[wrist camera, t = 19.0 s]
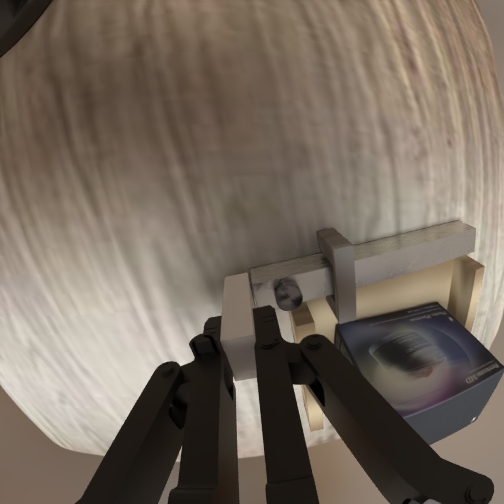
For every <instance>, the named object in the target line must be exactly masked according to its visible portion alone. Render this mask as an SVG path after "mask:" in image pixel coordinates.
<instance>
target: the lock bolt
mask: <svg viewBox="0 0 504 504" xmlns="http://www.w3.org/2000/svg"><path fill="white" fill-rule="evenodd" d="M475 236H476V228H474V227H472V226H470V225H468V224H465V223H463V222H461V221H459V220H457V221H453V222H449V223H445V224H441V225H437V226H433V227H429V228H425V229H421V230H417V231H413V232H408V233H404V234H400V235H396V236H392V237H388V238H383V239H379V240H375V241H371V242H366V243H362V244H358V245H353V250H354V264H355V282H356V288H359V287H363V286H367V285H370V284H374V283H377V282H381V281H384V280H388V279H391V278H395V277H398V276H401V275H405V274H408V273H411V272H415V271H418V270H421V269H424V268H427V267H430V266H434V265H437V264H440V263H443V262H446V261H449V260H452V259H455V258H457V257H460V256H463V255H466V254H469V253H472V252H474V248H475ZM250 272H251V280H252V287H253V291H254V295H255V299H256V303H257V308H258V307H263V306H267V305H271V306H272V307H273V308H278V307H279V308H280V309H282V310H284V311H292V310H295V309H296V308H298V307H299V306H300V305H301V303H302V302H304V301H308V300H312V299H316V298H320V297H325V296H329V295H333V294H335V288H334V277H333V266H332V264H331V262H330V261H329V260H328V259H327V257H326V256H325V255H324V254H323V253H319V254H314V255H310V256H305V257H301V258H296V259H292V260H287V261H283V262H278V263H274V264H269V265H264V266H260V267H255V268H250Z"/></svg>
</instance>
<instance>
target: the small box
mask: <svg viewBox="0 0 504 504" xmlns="http://www.w3.org/2000/svg"><path fill="white" fill-rule="evenodd" d="M334 345H335V346H336V348H337V349H338V350H339V351H340V352H341V353H342V354H343V355H344V356H345V357H346V358H347V359H348V360H349V361H350V362H351V363H352V365H353V366H354V367H355V368H356V369H357V370H358V371H359V372H360V373H361V374H362V375H363V376H364V377H365V378H366V379H367V380H368V381H369V383H370V384H371V385H372V386H373V387H374V388H375V389H376V390H377V391H378V392H379V393H380V394H381V395H382V396H383V397H384V398H385V399H386V401H387V402H388V403H389V404H390V405H391V406H392V407H393V408H394V409H395V410H396V411H397V412H398V413H399V414H400V415H401V416H402V417H403V419H404V420H405V421H406V422H407V423H408V424H409V425H410V426H411V427H412V428H413V429H414V430H415V431H416V432H417V433H418V434H419V435H420V436H421V437H422V439H423V440H424V441H425V442H426V443H427V444H428V445H431V444H433V443H435V442H437V441H439V440H441V439H443V438H445V437H447V436H449V435H451V434H453V433H455V432H457V431H459V430H461V429H462V428H464V427H466V426H467V425H469V424H471V423H473V422H474V421H476V420H477V418H478V416H479V415H480V413H481V412H482V410H483V408H484V407H485V405H486V404H487V402H488V400H489V399H490V397H491V395H492V393H493V392H494V389H495V388H496V386H497V384H498V383H499V381H500V379H501V377H502V375H503V373H504V366H503V365H502V364H501V363H500V362H499V361H498V360H497V359H496V358H495V357H494V356H493V355H492V354H491V353H490V352H489V351H488V350H487V349H486V348H485V347H484V346H483V344H481V343H480V342H479V341H478V340H477V339H476V338H475V337H474V336H473V335H472V334H471V333H470V332H469V331H468V330H467V329H466V328H465V327H464V326H463V325H462V324H461V323H460V322H459V321H458V320H457V319H455V318H454V317H453V316H452V315H451V314H450V313H449V312H448V311H447V310H446V309H445V308H444V307H443V306H441V305H440V304H439V303H438V302H434V303H430V304H426V305H423V306H419V307H414V308H411V309H406V310H402V311H398V312H393V313H389V314H384V315H379V316H374V317H370V318H365V319H359V320H354V321H349V322H346V323H342V324H339V323H337V324H336V326H335V337H334Z"/></svg>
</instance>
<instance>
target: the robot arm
mask: <svg viewBox="0 0 504 504" xmlns="http://www.w3.org/2000/svg"><path fill="white" fill-rule="evenodd" d="M50 1H51V0H0V56H1V55H3V54H4V53H5V52H6V51H7V50H8V49H10V48H11V47H12V46H13V45H14V44H15V43H16V42H17V41H18V40H19V39H20V38H21V37H22V35H23V34H24V33H25V32H26V31H27V30H28V29H29V28H30V27H31V25H32V24H33V23H34V22H35V21H36V19H37V18H38V17H39V16H40V15H41V13H42V12H43V11H44V9H45V8H46V7H47V5H48V4H49V3H50ZM189 345H190V348H191V350H192V352H193V354H194V357H195V358H194V361H192V362H190V363H188V364H186V365H183V366H180V365H179V364H178V363H177V362H173V361H171V362H166V363H163V364H161V365H160V366H158V367H157V369H156V370H155V372H154V373H153V375H152V376H151V378H150V380H149V381H148V383H147V385H146V386H145V388H144V390H143V392H142V393H141V395H140V397H139V398H138V400H137V402H136V403H135V405H134V407H133V408H132V410H131V412H130V413H129V415H128V417H127V419H126V420H125V422H124V424H123V425H122V427H121V429H120V431H119V432H118V434H117V436H116V437H115V439H114V441H113V443H112V444H111V446H110V448H109V450H108V451H107V453H106V455H105V457H104V458H103V460H102V462H101V464H100V465H99V467H98V469H97V471H96V473H95V475H94V476H93V478H92V480H91V482H90V483H89V485H88V487H87V489H86V491H85V492H84V494H83V496H82V498H81V499H80V500H79V501H77V502H76V503H75V504H158V502H159V500H160V497H161V495H162V492H163V490H164V487H165V485H166V483H167V481H168V478H169V476H170V473H171V471H172V468H173V466H174V464H175V461H176V459H177V456H178V454H179V451H180V449H181V447H182V452H181V461H180V470H179V479H178V485H177V487H176V488H174V489H172V490H171V491H170V493H169V497H168V504H239V482H238V455H237V424H236V388H235V385H234V383H233V376H234V379H235V381H239V380H245V379H251V378H256V377H257V382H258V393H259V403H260V413H261V423H262V433H263V443H264V453H265V463H266V473H267V484H266V501H267V504H319V500H318V496H317V491H316V486H315V481H314V477H313V474H312V469H311V465H310V460H309V456H308V451H307V446H306V442H305V437H304V433H303V428H302V424H301V419H300V415H299V410H298V406H297V402H296V397H295V393H294V388H293V384H296V385H306V388H307V389H308V391H309V392H310V393H311V395H312V396H313V398H314V399H315V401H316V402H317V404H318V405H319V407H320V408H321V410H322V411H323V413H324V414H325V415H326V417H327V418H328V420H329V421H330V423H331V424H332V426H333V427H334V428H335V430H336V431H337V433H338V434H339V436H340V437H341V438H342V440H343V441H344V443H345V444H346V445H347V447H348V448H349V449H350V451H351V452H352V454H353V455H354V457H355V458H356V459H357V461H358V462H359V464H360V465H361V466H362V468H363V469H364V471H365V472H366V473H367V475H368V476H369V477H370V479H371V480H372V481H373V483H374V484H375V485H376V487H377V488H378V490H379V491H380V492H381V493H382V495H383V496H384V497H385V498H386V500H387V501H388V502H389V503H390V504H488V503H489V502H490V501H491V499H492V496H493V493H494V484H493V482H492V480H491V479H490V478H488V477H487V476H485V475H482V474H479V473H477V472H474V471H471V470H469V469H466V468H464V467H461V466H459V465H456V464H453V463H451V462H449V461H447V460H444V459H442V458H440V456H439V455H438V454H437V453H436V452H435V451H434V450H433V449H432V448H431V447H430V446H429V445H428V444H427V443H426V442H425V441H424V440H423V439H422V437H421V436H420V435H419V434H418V433H417V432H416V431H415V430H414V429H413V428H412V427H411V426H410V425H409V424H408V423H407V422H406V421H405V420H404V419H403V417H402V416H401V415H400V414H399V413H398V412H397V411H396V410H395V409H394V408H393V407H392V406H391V405H390V404H389V403H388V402H387V401H386V399H385V398H384V397H383V396H382V395H381V394H380V393H379V392H378V391H377V390H376V389H375V388H374V387H373V386H372V385H371V384H370V383H369V381H368V380H367V379H366V378H365V377H364V376H363V375H362V374H361V373H360V372H359V371H358V370H357V369H356V368H355V367H354V366H353V365H352V363H351V362H350V361H349V360H348V359H347V358H346V357H345V356H344V355H343V354H342V353H341V352H340V351H339V350H338V349H337V348H336V346H335V345H334V344H333V343H332V342H331V341H330V340H329V339H328V338H327V337H325V336H324V335H321V334H312V335H308V336H306V337H305V338H303V339H302V340H301V341H300V343H290V342H287V341H285V340H284V339H283V338H282V336H281V333H280V329H279V325H278V320H277V316H276V312H275V309H274V308H273V307H272V306H271V305H267V306H263V307H258V308H256V305H255V301H254V297H253V293H252V289H251V285H250V281H249V277H248V273H242V274H237V275H233V276H228V277H225V279H224V292H223V306H222V316H217V317H211V318H209V319H208V320H207V321H206V323H205V325H204V331H203V334H200V335H197V336H196V337H194V338H193V339H192V340H191V341H190V343H189Z"/></svg>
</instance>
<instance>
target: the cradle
mask: <svg viewBox="0 0 504 504" xmlns="http://www.w3.org/2000/svg"><path fill="white" fill-rule="evenodd" d="M317 238H318V245H319V249H320V250H321V251H322V252H323V254H324V255H325V256H326V257H327V259H328V260H329V261H330V262H331V264H332V266H333V277H334V288H335V294H333V295H329V296H325V297H320V298H316V299H312V300H308V301H304V302H302V303H301V305H300V306H299V307H298V308H296V309H295V310H292V311H289V313H290V319H291V325H292V331H293V337H294V343H300V341H301V340H302V339H303V338H305V337H306V336H308V335H312V334H321V335H324V336H325V337H327V338H328V339H329V340H330V341H331V342H332V343H333V344H334V337H335V326H336V324H337V323H339V324H342V323H346V322H349V321H354V320H359V319H365V318H370V317H374V316H379V315H384V314H389V313H393V312H398V311H402V310H406V309H411V308H414V307H419V306H423V305H426V304H430V303H434V302H438V303H439V304H440V305H441V306H443V307H444V308H445V309H446V310H447V311H448V312H449V313H450V314H451V315H452V316H453V317H454V318H455V319H457V320H458V321H459V322H460V323H461V324H462V325H463V326H464V327H465V328H466V329H467V330H468V331H469V332H470V333H471V330H472V326H473V322H474V318H475V314H476V310H477V306H478V301H479V296H480V291H481V286H482V280H483V274H484V267H485V266H483V265H482V264H480V263H479V262H477V261H475V260H474V259H472V258H470V257H469V256H467V255H463V256H460V257H457V258H455V259H452V260H449V261H446V262H443V263H440V264H437V265H434V266H430V267H427V268H424V269H421V270H418V271H415V272H411V273H408V274H405V275H401V276H398V277H395V278H391V279H388V280H384V281H381V282H377V283H374V284H370V285H367V286H363V287H359V288H356V282H355V264H354V250H353V245H352V244H351V243H350V242H349V241H348V240H347V239H345V238H344V237H343V236H342V235H341V234H340V233H339V232H337V231H336V230H335V229H334V228H331V229H326V230H321V231H317ZM301 387H302V393H303V400H304V406H305V410H306V414H307V418H308V422H309V426H310V430H311V431H316V430H320V429H324V428H323V411H322V410H321V408H320V407H319V405H318V404H317V402H316V401H315V399H314V398H313V396H312V395H311V393H310V392H309V391H308V389H307V388H306V385H301Z"/></svg>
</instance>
